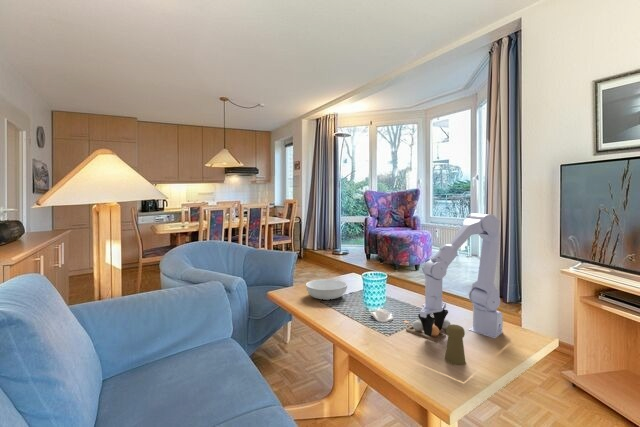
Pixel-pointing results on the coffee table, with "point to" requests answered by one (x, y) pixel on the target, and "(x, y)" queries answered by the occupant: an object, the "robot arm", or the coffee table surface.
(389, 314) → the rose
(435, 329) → the ball terracotta
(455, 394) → the coffee table surface
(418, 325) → the grey ball
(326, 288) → the serving bowl
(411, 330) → the trough
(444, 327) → the grey ball
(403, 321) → the card
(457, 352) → the olive knobbed tapered post
